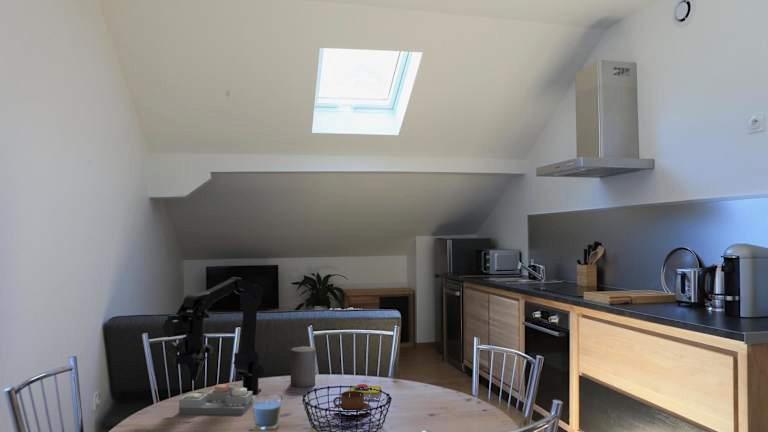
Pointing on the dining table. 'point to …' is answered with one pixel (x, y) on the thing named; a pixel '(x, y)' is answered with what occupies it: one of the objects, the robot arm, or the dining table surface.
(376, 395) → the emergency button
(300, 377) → the pillar candle
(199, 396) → the sage button
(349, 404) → the cup and saucer
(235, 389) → the cream button
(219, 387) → the terracotta button
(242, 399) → the button panel
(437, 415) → the dining table surface
